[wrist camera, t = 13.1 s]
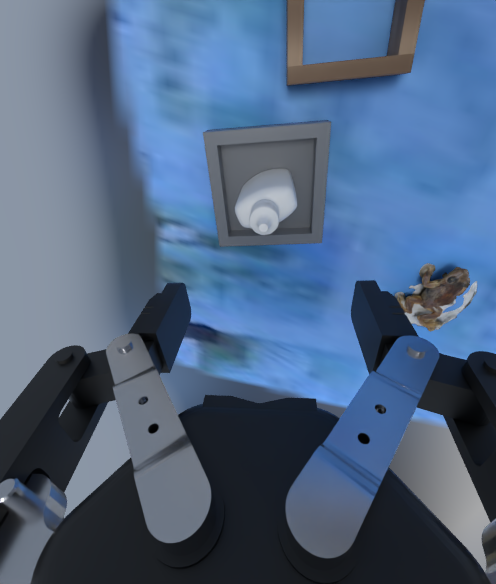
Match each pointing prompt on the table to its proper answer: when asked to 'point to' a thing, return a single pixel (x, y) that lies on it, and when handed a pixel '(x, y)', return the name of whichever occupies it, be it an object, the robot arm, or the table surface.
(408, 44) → the holder collar
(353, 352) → the table surface
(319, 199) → the tray
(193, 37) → the table surface
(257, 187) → the eye dropper bottle
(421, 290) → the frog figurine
